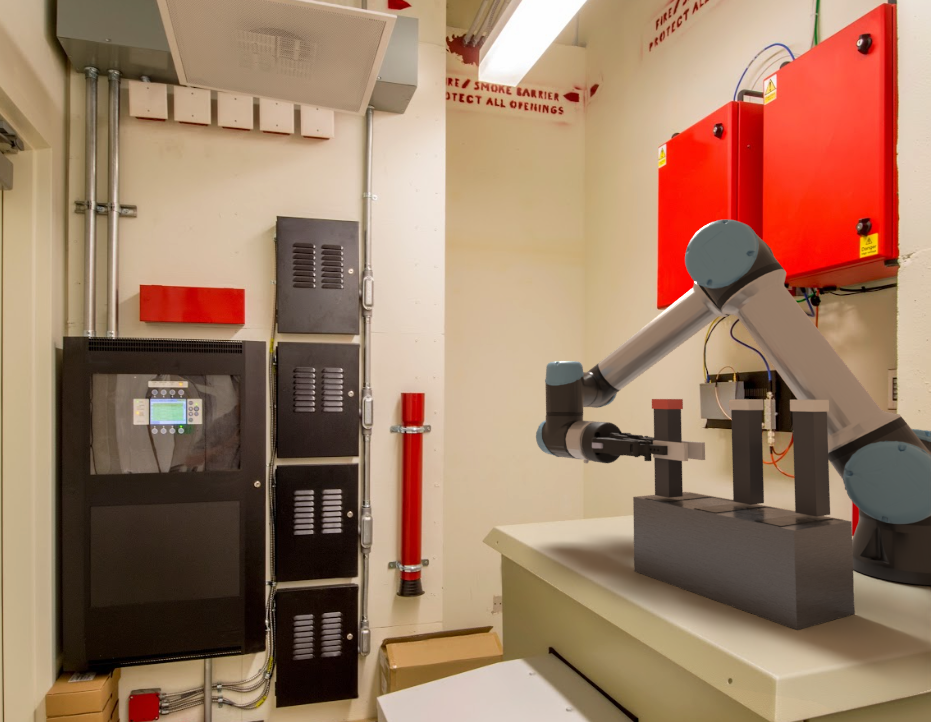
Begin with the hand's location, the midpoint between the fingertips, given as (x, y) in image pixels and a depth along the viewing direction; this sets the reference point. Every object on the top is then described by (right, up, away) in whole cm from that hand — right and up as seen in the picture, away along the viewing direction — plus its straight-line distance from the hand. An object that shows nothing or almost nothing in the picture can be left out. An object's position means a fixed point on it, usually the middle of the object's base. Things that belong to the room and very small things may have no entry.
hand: (694, 451), depth 93 cm
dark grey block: (+4, -20, -4) cm, 21 cm away
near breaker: (+12, -7, -11) cm, 18 cm away
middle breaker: (+8, -7, -2) cm, 11 cm away
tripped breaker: (-2, -8, +4) cm, 9 cm away
